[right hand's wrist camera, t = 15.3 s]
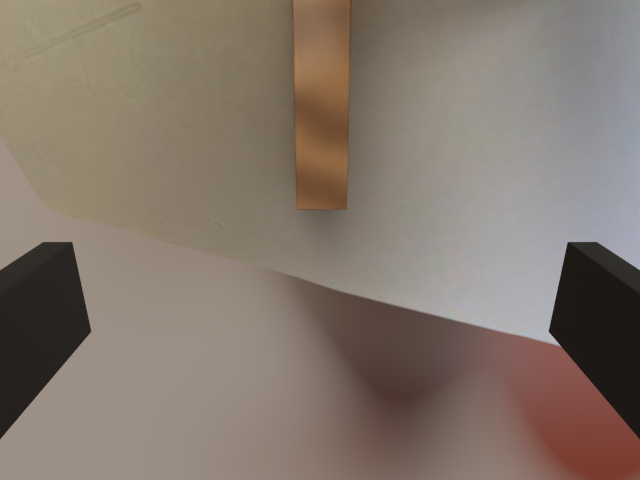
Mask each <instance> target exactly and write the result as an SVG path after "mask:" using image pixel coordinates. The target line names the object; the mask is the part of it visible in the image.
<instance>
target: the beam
mask: <svg viewBox="0 0 640 480" xmlns="http://www.w3.org/2000/svg"><path fill="white" fill-rule="evenodd" d="M292 9H293V58H294V107H295V156H296V204H297V209H347V173H348V126H349V79H350V33H351V0H292Z"/></svg>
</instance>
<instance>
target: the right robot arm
mask: <svg viewBox="0 0 640 480" xmlns="http://www.w3.org/2000/svg"><path fill="white" fill-rule="evenodd" d="M90 332H91V328H90V324H89V319H88V314H87V310H86V305H85V300H84V295H83V291H82V286H81V281H80V277H79V272H78V267H77V263H76V258H75V253H74V249H73V244H72V242H43V243H41V244H40V245H38V246H37V247H35V248H34V249H32V250H31V251H29V252H28V253H26V254H24V255H23V256H21V257H20V258H18V259H17V260H15V261H14V262H12V263H11V264H9V265H8V266H6V267H5V268H3V269H2V270H0V439H1V437H2V436H3V435H4V434H5V433H6V432H7V430H8V429H9V428H10V427H11V426H12V425H13V423H14V422H15V421H16V420H17V419H18V417H19V416H20V415H21V414H22V413H23V412H24V410H25V409H26V408H27V407H28V406H29V404H30V403H31V402H32V401H33V400H34V399H35V397H36V396H37V395H38V394H39V393H40V391H41V390H42V389H43V388H44V387H45V386H46V384H47V383H48V382H49V381H50V380H51V378H52V377H53V376H54V375H55V374H56V373H57V371H58V370H59V369H60V368H61V367H62V365H63V364H64V363H65V362H66V361H67V360H68V358H69V357H70V356H71V355H72V354H73V352H74V351H75V350H76V349H77V348H78V347H79V345H80V344H81V343H82V342H83V341H84V339H85V338H86V337H87V336H88V335H89V334H90ZM549 332H550V334H551V335H552V336H553V337H554V338H555V339H556V341H557V342H558V343H559V344H560V345H561V347H562V348H563V349H564V350H565V351H566V352H567V354H568V355H569V356H570V357H571V358H572V359H573V361H574V362H575V363H576V364H577V365H578V367H579V368H580V369H581V370H582V371H583V373H584V374H585V375H586V376H587V377H588V378H589V380H590V381H591V382H592V383H593V384H594V386H595V387H596V388H597V389H598V390H599V391H600V393H601V394H602V395H603V396H604V397H605V399H606V400H607V401H608V402H609V403H610V404H611V406H612V407H613V408H614V409H615V410H616V412H617V413H618V414H619V415H620V416H621V417H622V419H623V420H624V421H625V422H626V423H627V424H628V426H629V427H630V428H631V429H632V430H633V432H634V433H635V434H636V435H637V436H638V438H639V439H640V270H638V269H637V268H635V267H634V266H632V265H631V264H629V263H628V262H626V261H625V260H623V259H622V258H620V257H619V256H617V255H616V254H614V253H612V252H611V251H609V250H608V249H606V248H605V247H603V246H602V245H600V244H599V243H597V242H568V244H567V249H566V253H565V258H564V263H563V267H562V272H561V277H560V281H559V286H558V291H557V295H556V300H555V305H554V310H553V314H552V319H551V324H550V328H549Z"/></svg>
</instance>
